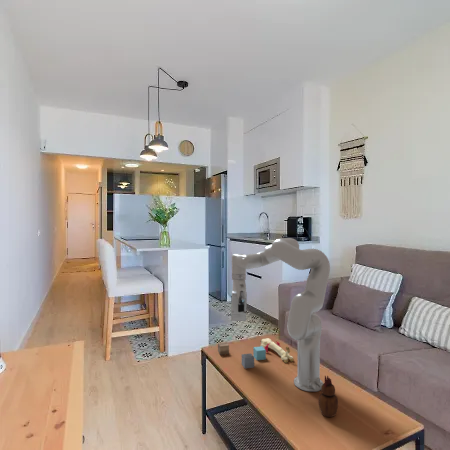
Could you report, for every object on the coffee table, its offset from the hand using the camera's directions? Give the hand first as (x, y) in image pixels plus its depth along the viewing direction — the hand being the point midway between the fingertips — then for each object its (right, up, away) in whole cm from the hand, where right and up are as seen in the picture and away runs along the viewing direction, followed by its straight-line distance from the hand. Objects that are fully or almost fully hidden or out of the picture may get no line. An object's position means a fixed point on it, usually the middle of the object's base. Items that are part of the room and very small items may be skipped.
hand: (238, 309), depth 165 cm
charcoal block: (+4, -25, -11) cm, 28 cm away
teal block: (+11, -25, -2) cm, 28 cm away
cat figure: (+20, -26, +4) cm, 33 cm away
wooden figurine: (+31, -25, -50) cm, 65 cm away
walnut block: (-8, -25, +4) cm, 27 cm away
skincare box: (0, -6, 0) cm, 6 cm away
